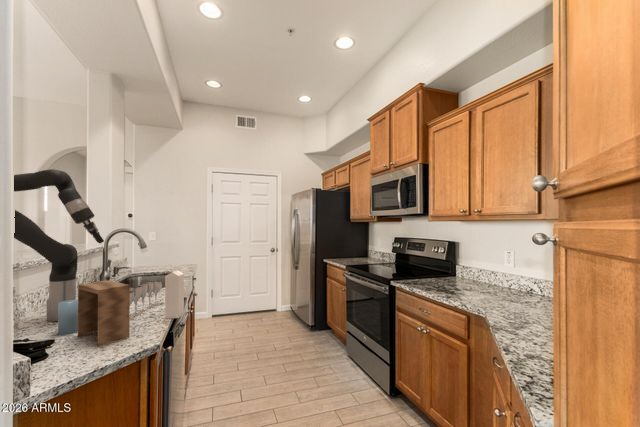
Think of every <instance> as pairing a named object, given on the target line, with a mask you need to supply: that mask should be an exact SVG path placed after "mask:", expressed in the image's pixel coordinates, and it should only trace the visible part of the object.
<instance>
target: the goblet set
mask: <svg viewBox="0 0 640 427" xmlns="http://www.w3.org/2000/svg"><path fill="white" fill-rule="evenodd" d="M162 289H163V284H162V281H161V280H153V281H152V280H151V281H146V282H144V283H139V285H133V286H130V306H131V304H132V303H134V305H135V306H134V308H135V309H134V310H135V313H132V314H129V321H131V320H134V319H135V317H139V315H140V316H142V315H141V314H142V313H146V312H145V311H147V310H151V308H152V309H154V308H155V307H157V305H158V306H161V304H162V303H160V302H159V303H157V295H158V294H159V292H160V291H161V290H162ZM152 294H154V297H155V303H153V304H151V297H152ZM146 295H148V301H149V302H148V304H149V305H148V306H147V307H146V308H147V309H142V310H139V311H138V312H137V307H138V306H137V304H138V302H139V300H140V299H141V301H142V306H144V302H145V297H146ZM151 305H152V306H151ZM139 312H142V313H141V314H139ZM147 312H148V311H147ZM134 316H135V317H134Z"/></svg>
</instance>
